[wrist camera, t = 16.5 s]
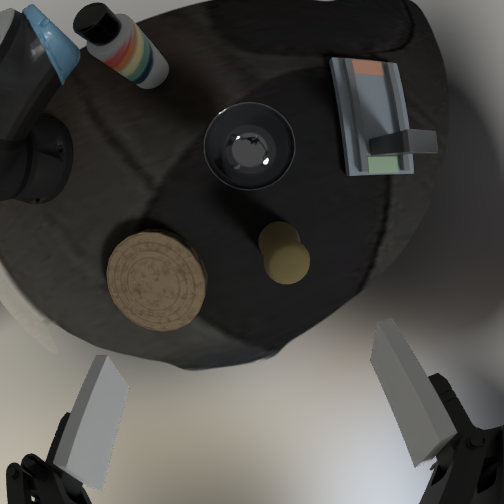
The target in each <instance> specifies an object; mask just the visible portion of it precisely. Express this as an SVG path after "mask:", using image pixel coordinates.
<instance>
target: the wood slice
mask: <svg viewBox="0 0 504 504" xmlns="http://www.w3.org/2000/svg"><path fill="white" fill-rule="evenodd" d="M106 274H107V283H108V289H109V291H110V294H111V296H112V298H113V301H114V303H115V304H116V305H117V307H118V308H119V309H120V310H121V312H122V313H123V314H124V315H125V316H126V317H128V318H129V319H130V320H131V321H133V322H134V323H135V324H137V325H140V326H142V327H144V328H147V329H149V330H156V331H169V330H175V329H179V328H181V327H182V326H184V325H186V324H188V323H190V322H191V321H192V319H193V318H194V317H195V316H196V315H197V314H198V312H199V311H200V308H201V306H202V303H203V300H204V297H205V295H206V292H207V273H206V269H205V266H204V263H203V260H202V258H201V257H200V255H199V254H198V253H197V251H196V250H195V248H194V247H193V245H191V244H190V243H189V242H187V241H186V240H185V239H184V238H182V237H181V236H180V235H178V234H175V233H172V232H170V231H167V230H165V229H146V230H143V231H140V232H137V233H134V234H132V235H130V236H129V237H127V238H126V239H125V240H123V241H122V242H121V243H120V244H118V245H117V246H116V248H115V249H114V251H113V253H112V255H111V256H110V258H109V262H108V267H107V272H106Z"/></svg>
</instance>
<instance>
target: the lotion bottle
mask: <svg viewBox="0 0 504 504" xmlns="http://www.w3.org/2000/svg"><path fill="white" fill-rule="evenodd" d="M73 29H74V31H75V33H77V34H78V35H80V36H81V37H83V38H84V39H86V40H87V49H88V51H89V52H90V54H92V55H93V56H94V57H96V58H97V59H99V60H100V61H102V62H103V63H105V64H106V65H108V66H109V67H111V68H112V69H114V70H115V71H117V72H118V73H120V74H121V75H123V76H124V77H126V78H127V79H128V80H130V81H131V82H133V83H134V84H136V85H137V86H139V87H141V88H144V89H151V88H155V87H157V86H159V85H160V84H161V83H162V82H163V81H164V80H165V79H166V77H167V75H168V72H169V66H168V63H167V61H166V60H165V59H164V57H163V56H162V55H161V54H160V52H159V51H158V50H157V49H156V47H155V46H154V45H153V44H152V43H151V41H150V40H149V39H148V38H147V37H146V35H145V34H144V33H143V32H142V31H141V29H140V28H139V27H138V26H137V25H136V24H135V22H133V20H132V19H131V18H130V17H129V16H127V15H125V14H114V13H113V12H112V11H111V10H110V9H109V8H108V7H107V6H106V5H105V4H103V3H92V4H89V5H87V6H85V7H84V8H82V9H81V10H80V11H79V12H78V14H77V15H76V17H75V19H74V23H73Z"/></svg>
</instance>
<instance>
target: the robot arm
mask: <svg viewBox="0 0 504 504" xmlns="http://www.w3.org/2000/svg"><path fill="white" fill-rule="evenodd" d="M79 59H80V50H79V48H78V47H77V46H76V45H75V44H74V43H73V42H72V41H71V40H70V39H69V38H68V37H67V36H66V35H65V34H64V33H63V32H62V31H60V29H59V28H58V27H56V26H55V25H54V24H53V23H52V22H51V21H50V20H49V19H48V18H47V17H46V16H45V15H44V14H43V13H42V12H41V11H40V10H39V9H38V8H37V7H36V6H35V5H33V4H31V5H29V6H28V7H27V8H24V9H23V11H22V13H20V12H18V11H16V10H14V9H12V8H9V9H6V10H4V11H2V12H0V201H4V200H8V199H16V200H19V201H22V202H26V203H29V204H40V203H45V202H48V201H51V200H52V199H54V198H55V197H56V196H57V195H58V194H59V193H60V192H61V191H62V189H63V188H64V186H65V184H66V182H67V180H68V178H69V175H70V172H71V168H72V162H73V144H72V139H71V136H70V133H69V131H68V129H67V128H66V126H65V125H64V124H63V123H62V122H61V121H59V120H57V119H53V118H48V117H41V118H39V116H40V115H41V113H42V112H43V110H44V109H45V107H46V106H47V104H48V103H49V101H50V100H51V98H52V97H53V95H54V94H55V93H56V91H57V90H58V89H59V87H60V86H61V85H64V83H65V80H66V78H67V77H68V75H69V74H70V73H71V71H72V70H73V69H74V68H75V66H76V65H77V64H78V62H79ZM370 361H371V363H372V366H373V368H374V370H375V372H376V374H377V376H378V379H379V381H380V383H381V386H382V388H383V390H384V392H385V395H386V397H387V399H388V402H389V404H390V406H391V408H392V411H393V413H394V416H395V418H396V421H397V423H398V425H399V428H400V430H401V433H402V435H403V438H404V440H405V443H406V446H407V448H408V451H409V453H410V456H411V459H412V461H413V464H414V467H415V468H416V467H418V466H421V465H423V464H425V463H427V462H429V461H431V460H432V459H433V458H434V457H435V456H436V458H437V460H438V461H436V462H435V463H434V464H433V465H432V467H431V468H430V470H432V469H434V471H433V473H432V476H431V478H430V481H429V483H428V485H427V488H426V490H425V492H424V494H423V497H422V499H421V501H420V503H419V504H504V425H503V426H500V427H496V428H493V429H488V430H482V429H480V428H476V427H475V426H474V425H473V424H472V423H471V421H470V419H469V417H468V415H467V414H466V412H465V410H464V408H463V406H462V405H461V403H460V401H459V399H458V398H457V397H456V394H455V392H454V391H453V390H452V387H451V386H450V384H449V383H448V381H447V379H445V378H444V377H443V376H442V375H440V374H439V373H436V374H434V375H431V376H429V377H427V375H426V373H425V372H424V370H423V368H422V366H421V365H420V363H419V362H418V360H417V358H416V356H415V355H414V353H413V351H412V350H411V348H410V347H409V345H408V343H407V342H406V340H405V339H404V337H403V335H402V334H401V332H400V330H399V329H398V327H397V326H396V324H395V323H394V321H393V320H392V319H391V318H390V319H386V320H382V321H378V322H377V326H376V332H375V338H374V343H373V349H372V354H371V359H370ZM129 389H130V388H129V387H128V385H127V384H126V383H125V381H124V380H123V378H122V377H121V375H120V374H119V372H118V371H117V369H116V368H115V366H114V365H113V363H112V361H111V360H110V358H109V356H108V355H96V357H95V359H94V361H93V363H92V365H91V367H90V369H89V372H88V374H87V376H86V378H85V381H84V383H83V385H82V387H81V390H80V392H79V394H78V397H77V399H76V402H75V404H74V407H73V409H72V411H71V413H68V412H67V413H66V414H65V415H64V416H63V418H62V419H61V420H60V423H59V426H58V430H57V431H56V433H55V437H54V439H53V441H52V444H51V447H50V450H49V453H48V456H47V459H46V461H45V462H44V461H43V460H42V459H40V458H39V457H38V456H36V455H35V454H27V455H26V456H25V457H24V458H23V459H22V462H21V466H20V465H19V464H18V463H11V464H10V465H9V466H8V468H7V470H6V486H7V498H8V504H92V503H91V501H90V499H89V497H88V495H87V493H86V491H85V490H84V488H83V487H82V485H83V484H85V485H87V486H88V487H90V488H93V489H97V490H100V491H103V489H104V484H105V479H106V475H107V470H108V466H109V462H110V457H111V454H112V450H113V446H114V442H115V438H116V434H117V430H118V427H119V423H120V419H121V416H122V412H123V409H124V406H125V402H126V398H127V395H128V392H129ZM31 496H33V497H34V498H35V501H34V502H33V501H32V499H31Z"/></svg>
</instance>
